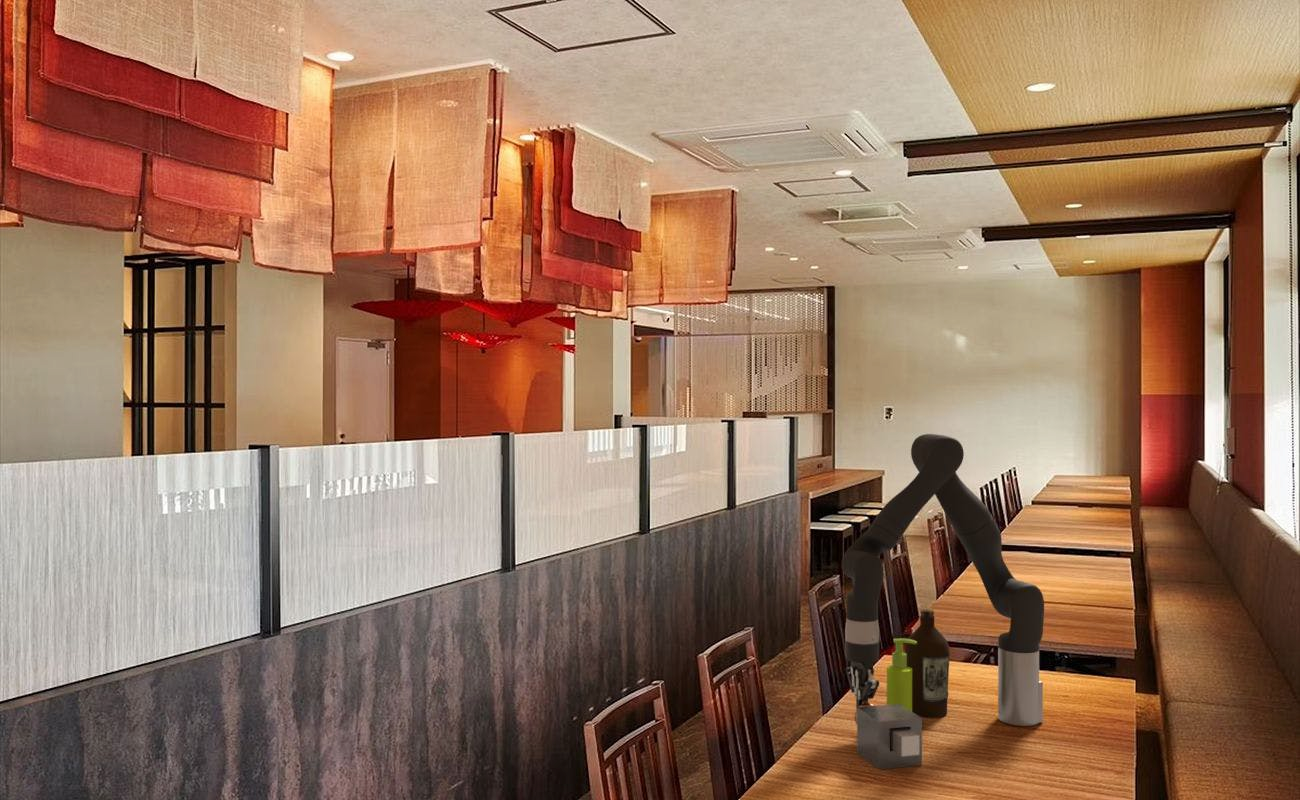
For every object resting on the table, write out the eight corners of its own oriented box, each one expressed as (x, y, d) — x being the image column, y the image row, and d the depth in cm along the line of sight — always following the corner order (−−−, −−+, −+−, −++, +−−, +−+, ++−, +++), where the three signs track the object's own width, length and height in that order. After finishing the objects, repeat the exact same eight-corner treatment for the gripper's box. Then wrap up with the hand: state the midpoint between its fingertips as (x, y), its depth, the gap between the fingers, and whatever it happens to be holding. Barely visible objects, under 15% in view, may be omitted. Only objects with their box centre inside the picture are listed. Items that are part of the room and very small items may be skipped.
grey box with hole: (899, 749, 229) (899, 703, 228) (921, 765, 219) (921, 717, 219) (857, 753, 226) (857, 707, 226) (878, 769, 216) (878, 721, 216)
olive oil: (896, 708, 258) (896, 607, 258) (934, 704, 261) (934, 604, 261) (919, 721, 248) (919, 616, 248) (958, 716, 251) (958, 613, 251)
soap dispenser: (917, 728, 243) (917, 642, 243) (886, 726, 244) (887, 641, 244) (916, 720, 248) (916, 637, 248) (886, 718, 250) (886, 635, 250)
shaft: (879, 728, 233) (879, 701, 233) (923, 759, 214) (923, 730, 214) (854, 730, 232) (854, 703, 232) (897, 761, 213) (897, 732, 213)
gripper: (890, 644, 230) (890, 722, 230) (864, 631, 242) (864, 705, 243) (859, 646, 228) (859, 725, 228) (834, 632, 241) (834, 707, 241)
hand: (862, 714), depth 235 cm, fingers closed
